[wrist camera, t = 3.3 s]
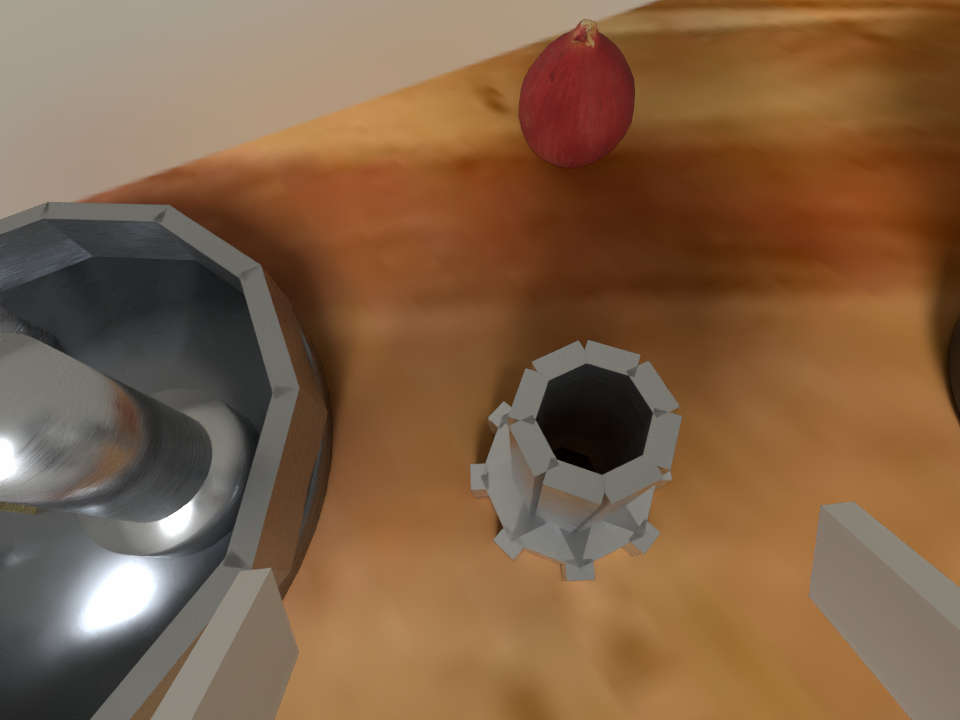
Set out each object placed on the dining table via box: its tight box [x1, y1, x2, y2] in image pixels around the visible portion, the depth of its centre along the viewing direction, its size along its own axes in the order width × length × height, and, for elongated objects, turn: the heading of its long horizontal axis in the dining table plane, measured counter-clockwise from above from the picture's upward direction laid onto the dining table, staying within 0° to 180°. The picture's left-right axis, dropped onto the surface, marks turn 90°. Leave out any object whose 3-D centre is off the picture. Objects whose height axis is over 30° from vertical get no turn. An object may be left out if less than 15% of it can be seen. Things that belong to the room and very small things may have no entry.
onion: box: [519, 19, 635, 168], centre depth 25 cm, size 6×6×8 cm
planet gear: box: [470, 340, 682, 581], centre depth 17 cm, size 8×8×9 cm
